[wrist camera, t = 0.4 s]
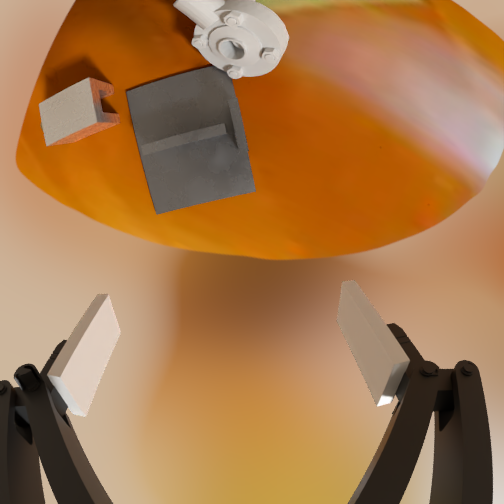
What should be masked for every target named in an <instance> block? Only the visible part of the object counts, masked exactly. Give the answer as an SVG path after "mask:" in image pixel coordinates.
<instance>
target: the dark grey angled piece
mask: <svg viewBox="0 0 504 504" xmlns="http://www.w3.org/2000/svg"><path fill="white" fill-rule="evenodd" d="M126 93H127V98H128V103H129V108H130V113H131V117H132V122H133V126H134V131H135V135H136V139H137V143H138V147H139V151H140V155H141V159H142V163H143V167H144V171H145V175H146V178H147V182H148V186H149V189H150V193H151V197H152V200H153V203H154V207H155V210H156V214H161V213H165V212H169V211H172V210H176V209H180V208H185V207H189V206H193V205H197V204H201V203H205V202H210V201H214V200H218V199H223V198H227V197H232V196H236V195H241V194H246V193H250V192H255V191H256V190H255V185H254V180H253V175H252V171H251V166H250V161H249V156H248V152H247V151H249V150H248V146H247V141H246V136H245V131H244V127H243V122H242V118H241V113H240V108H239V104H238V99H237V98H236V96H235V92H234V87H233V83H232V78H231V77H229V76H228V74H227V72H226V71H223V70H221V69H219V68H217V67H216V66H211V67H206V68H202V69H198V70H194V71H190V72H187V73H183V74H179V75H176V76H172V77H169V78H166V79H162V80H159V81H156V82H153V83H150V84H147V85H144V86H141V87H138V88H135V89H133V90H130V91H127V92H126Z"/></svg>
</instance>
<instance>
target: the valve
mask: <svg viewBox="0 0 504 504" xmlns="http://www.w3.org/2000/svg"><path fill="white" fill-rule="evenodd" d="M173 6H174V7H175V8H177V9H178V10H179V11H181V12H182V13H183V14H185V15H186V16H187V17H189V18H190V19H191V20H192V21H194V22H195V23H196V24H197V25H196V27H195V30H194V38H193V39H192V45H193V46H194V47H196V48H197V49H198V50H199V51H200V53H201V54H202V55H203V56H204V57H205V58H206V59H207V60H208V61H209V62H210V63H211V64H213V65H214V66H216V67H217V68H219V69H221V70H223V71H226V72H227V74H228V76H229V77H231V78H234V79H238V78H240V77H242V76H246V77H253V76H260V75H263V74H266V73H268V72H270V71H272V70H273V69H274V68H275V67H276V66H277V64H278V63H279V61H280V59H281V57H282V55H283V53H284V52H285V49H286V47H287V45H288V40H289V35H288V33H287V30H286V27H285V25H284V23H283V22H282V21H281V19H280V18H279V17H278V16H277V14H275V13H274V12H273V11H272V10H270V9H269V8H267V7H265V6H264V5H262V4H260V3H257V2H256V1H255V0H225V1H224V0H177V1H176V2H175V3H174V4H173Z"/></svg>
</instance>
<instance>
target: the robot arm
mask: <svg viewBox="0 0 504 504" xmlns="http://www.w3.org/2000/svg"><path fill="white" fill-rule="evenodd" d="M337 323H338V325H339V327H340V329H341V331H342V333H343V335H344V337H345V339H346V341H347V343H348V345H349V347H350V349H351V352H352V354H353V356H354V357H355V360H356V362H357V364H358V366H359V368H360V371H361V372H362V375H363V377H364V379H365V381H366V383H367V385H368V388H369V390H370V392H371V394H372V397H373V399H374V401H375V403H376V406H380V405H384V404H387V403H391V402H392V401H393V398H394V396H395V394H396V396H397V398H398V400H399V401H398V403H397V405H396V407H395V409H394V411H393V413H392V414H393V415H392V418H391V420H390V423H389V425H388V427H387V430H386V432H385V434H384V436H383V438H382V441H381V443H380V445H379V447H378V449H377V451H376V453H375V455H374V457H373V459H372V461H371V463H370V465H369V467H368V469H367V471H366V473H365V475H364V476H363V478H362V480H361V482H360V484H359V485H358V487H357V489H356V491H355V492H354V494H353V496H352V497H351V499H350V501H349V502H348V504H399V503H400V501H401V499H402V497H403V495H404V492H405V490H406V488H407V485H408V483H409V481H410V478H411V476H412V473H413V471H414V468H415V465H416V463H417V460H418V457H419V454H420V452H421V449H422V446H423V443H424V440H425V436H426V433H427V430H428V426H429V423H430V419H431V416H432V412H433V411H434V412H435V440H434V441H435V442H434V464H433V478H432V487H431V496H430V503H429V504H492V501H493V470H492V469H493V468H492V451H491V439H490V430H489V423H488V416H487V410H486V403H485V397H484V392H483V387H482V382H481V377H480V373H479V370H478V368H477V366H476V365H475V364H474V363H472V362H470V361H466V360H463V361H459V362H458V363H457V364H456V366H455V368H454V369H439V367H438V366H437V365H436V364H435V363H433V362H430V361H425V360H424V359H423V358H422V356H421V355H420V353H419V352H418V350H417V349H416V347H415V346H414V345H413V343H412V342H411V341H410V339H409V338H408V337H407V335H406V333H405V332H404V331H403V329H402V328H400V327H399V326H398V325H396V324H394V323H392V324H387V325H386V324H385V322H384V321H383V319H382V318H381V316H380V315H379V313H378V312H377V311H376V309H375V308H374V306H373V305H372V303H371V302H370V301H369V299H368V298H367V296H366V295H365V294H364V292H363V291H362V290H361V288H360V287H359V285H358V284H357V283H356V281H355V280H353V281H343V282H342V287H341V295H340V302H339V310H338V317H337ZM120 333H121V331H120V328H119V325H118V322H117V319H116V316H115V313H114V310H113V306H112V303H111V300H110V297H109V294H98V295H97V296H96V298H95V299H94V300H93V302H92V303H91V305H90V306H89V308H88V309H87V311H86V312H85V314H84V315H83V317H82V318H81V320H80V321H79V323H78V325H77V326H76V327H75V329H74V331H73V332H72V334H71V335H70V337H69V339H68V340H63V341H62V342H61V343H60V344H58V345H57V347H56V348H55V350H54V351H53V354H51V356H50V359H49V360H48V361H47V363H46V364H45V366H44V368H43V369H42V371H41V373H40V374H39V372H38V370H37V369H36V367H35V366H34V365H33V364H25V365H22V366H21V367H19V368H18V369H17V370H16V372H15V374H14V379H15V381H16V382H17V383H18V385H19V387H15V388H13V387H12V385H11V384H10V382H9V381H7V380H2V381H0V504H45V499H44V493H43V487H42V480H41V473H40V464H39V457H40V460H41V463H42V465H43V468H44V471H45V474H46V476H47V479H48V481H49V484H50V486H51V489H52V491H53V493H54V496H55V498H56V500H57V502H58V504H113V503H112V501H111V499H110V498H109V497H108V495H107V493H106V491H105V490H104V488H103V486H102V485H101V483H100V481H99V479H98V478H97V476H96V474H95V472H94V470H93V468H92V467H91V465H90V463H89V461H88V459H87V457H86V455H85V453H84V451H83V449H82V447H81V445H80V442H79V440H78V438H77V436H76V434H75V431H74V429H73V427H72V424H71V422H70V419H69V417H68V416H67V414H66V413H65V412H66V410H67V408H69V409H70V410H71V412H72V413H73V414H74V415H79V416H84V417H86V415H87V413H88V410H89V407H90V405H91V402H92V400H93V397H94V395H95V392H96V389H97V387H98V384H99V382H100V380H101V377H102V374H103V372H104V370H105V368H106V365H107V363H108V361H109V358H110V356H111V354H112V351H113V349H114V347H115V345H116V342H117V340H118V338H119V336H120Z"/></svg>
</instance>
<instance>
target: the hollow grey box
mask: <svg viewBox="0 0 504 504" xmlns="http://www.w3.org/2000/svg"><path fill="white" fill-rule="evenodd" d="M112 94H114V89H113V85H112V84H109V83H106V82H102V81H99V80H96V79H93V78H90V77H88V78H86V79H84V80H82V81H80V82H78V83H76V84H74V85H72V86H70V87H68V88H66V89H65V90H63V91H61V92H59V93H57V94H55V95H54V96H52V97H50V98H48V99H47V100H45V101H43V102H42V103H40V104H39V108H40V115H41V120H42V122H41V128H42V130H43V131H44V136H45V141H46V146H52V145H59V144H65V143H72V142H76V141H78V140H80V139H83V138H85V137H87V136H90V135H92V134H94V133H97V132H99V131H102V130H104V129H106V128H109V127H112V126H114V125H117V124H119V123H120V119H119V114H114V113H105V112H103V111H102V106H101V101H100V99H102V98H105V97H107V96H110V95H112Z"/></svg>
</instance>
